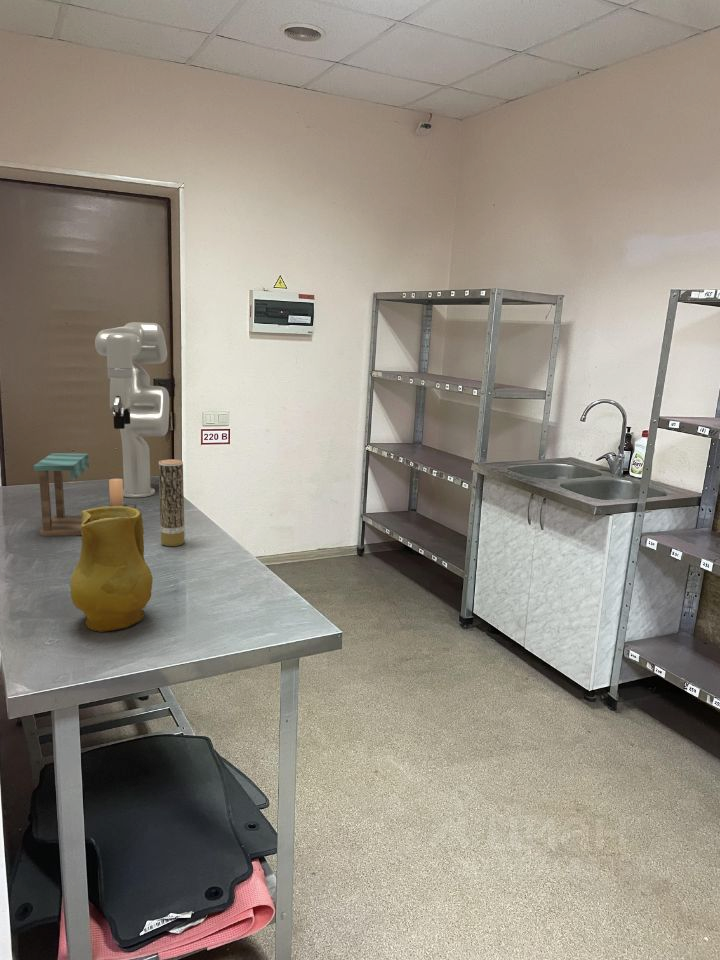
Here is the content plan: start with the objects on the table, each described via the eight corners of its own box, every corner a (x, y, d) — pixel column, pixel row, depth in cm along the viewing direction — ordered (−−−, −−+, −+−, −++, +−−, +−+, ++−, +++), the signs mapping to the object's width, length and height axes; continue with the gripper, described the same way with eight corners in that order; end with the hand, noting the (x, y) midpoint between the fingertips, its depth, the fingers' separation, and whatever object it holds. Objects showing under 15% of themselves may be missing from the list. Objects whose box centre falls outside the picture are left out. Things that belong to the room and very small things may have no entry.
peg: (112, 521, 217) (110, 478, 214) (125, 521, 217) (123, 478, 214) (109, 524, 213) (107, 481, 210) (122, 524, 214) (121, 481, 211)
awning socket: (56, 519, 221) (51, 453, 216) (142, 519, 225) (139, 454, 220) (39, 536, 204) (33, 465, 199) (132, 536, 208) (129, 466, 203)
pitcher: (58, 618, 152) (51, 510, 146) (137, 596, 164) (133, 497, 159) (91, 645, 140) (84, 529, 134) (173, 620, 153) (170, 513, 147)
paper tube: (187, 540, 206) (186, 460, 200) (179, 547, 199) (177, 464, 194) (166, 539, 207) (163, 458, 201) (157, 546, 200) (154, 463, 194)
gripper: (113, 371, 226) (115, 421, 230) (101, 375, 209) (104, 430, 213) (137, 371, 227) (138, 422, 231) (127, 376, 210) (129, 430, 214)
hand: (122, 426), depth 222 cm, fingers open, 9 cm apart
